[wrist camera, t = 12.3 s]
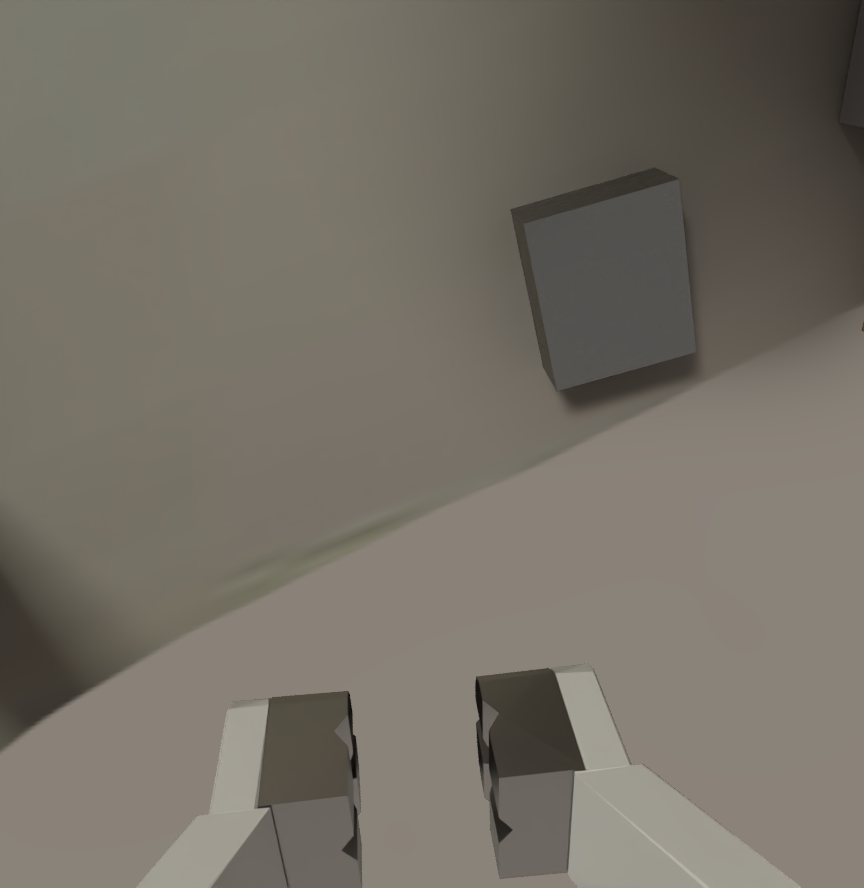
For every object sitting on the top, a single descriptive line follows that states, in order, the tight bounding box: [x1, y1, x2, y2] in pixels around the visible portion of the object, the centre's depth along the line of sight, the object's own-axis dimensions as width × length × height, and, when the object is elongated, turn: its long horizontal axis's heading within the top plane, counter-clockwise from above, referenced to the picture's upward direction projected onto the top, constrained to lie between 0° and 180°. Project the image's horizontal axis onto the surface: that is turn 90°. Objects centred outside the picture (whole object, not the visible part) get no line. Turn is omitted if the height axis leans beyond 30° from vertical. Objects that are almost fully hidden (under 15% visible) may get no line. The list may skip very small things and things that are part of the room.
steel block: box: [511, 168, 696, 391], centre depth 27 cm, size 6×5×2 cm
